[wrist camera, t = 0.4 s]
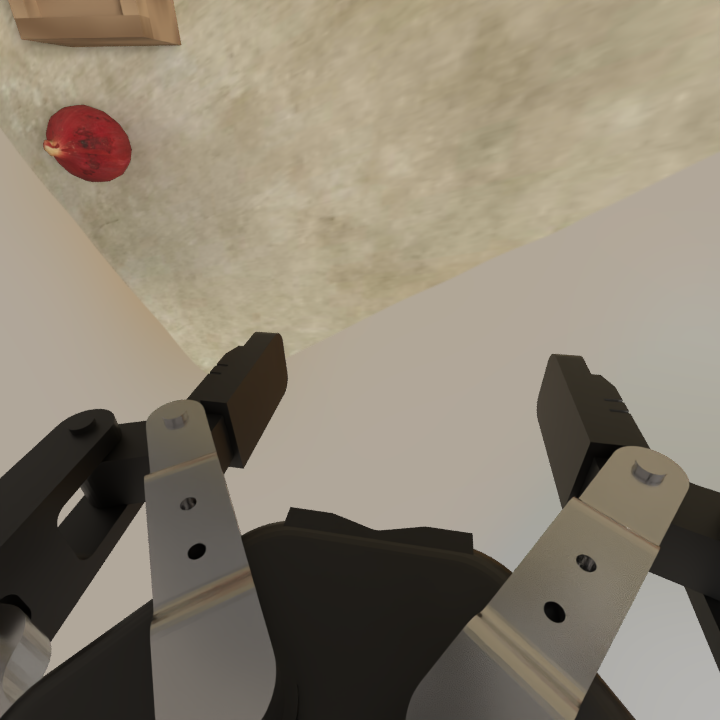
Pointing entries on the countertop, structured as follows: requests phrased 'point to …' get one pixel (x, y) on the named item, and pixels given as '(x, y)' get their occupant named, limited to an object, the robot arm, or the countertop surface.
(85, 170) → the onion
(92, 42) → the wooden box
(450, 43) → the countertop surface
